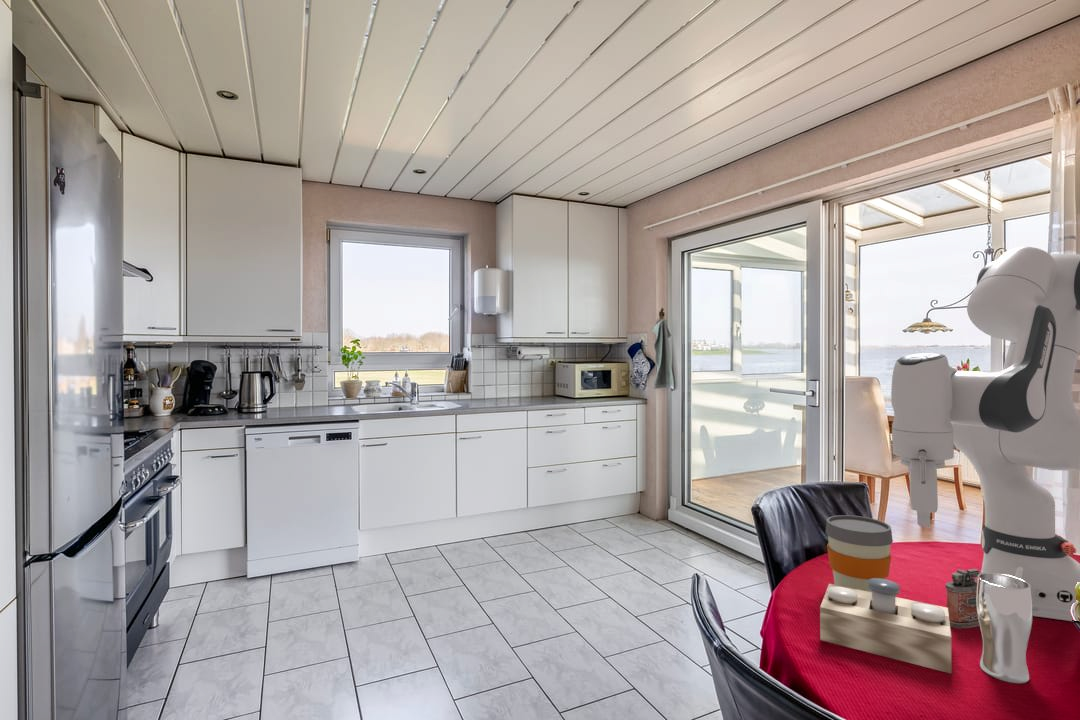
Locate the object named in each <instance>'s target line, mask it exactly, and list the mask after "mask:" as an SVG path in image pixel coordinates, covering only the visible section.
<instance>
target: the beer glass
mask: <svg viewBox="0 0 1080 720" xmlns="http://www.w3.org/2000/svg"><path fill="white" fill-rule="evenodd" d="M977 580H978V581H977V591H976V608H977V615H978V620H979V629H980V632H981V634H980V635H981V639H982V651H981V652H982V653H981V656H980V661H979V667H980V669H981V670H982V671H983V672H984V673H985V674H987V675H989V676H990V677H993V678H995V679H996V680H997V679H998V680H999V681H1003V682H1006V683H1011V684H1026V683H1027V682H1029V680H1030V674H1029V669H1028V665H1027V664H1028V663H1027V659H1026V658H1027V656H1026V655H1027V648H1028V643H1029V640H1030V635H1031V631H1032V625H1033V617H1034V616H1033V608H1032V596H1031V585H1030V584H1029V583H1028V582H1026V581H1024V580H1022V579H1020V578H1017V577H1014V576H1010V575H1006V574H1001V573H992V572H985V573H981V572H980V574H978V577H977Z"/></svg>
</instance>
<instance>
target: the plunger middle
mask: <svg viewBox="0 0 1080 720" xmlns="http://www.w3.org/2000/svg"><path fill="white" fill-rule="evenodd" d="M868 588H869V589H870V590H872V610H876V611H880V612H885V613H889V614H894V615H896V600H895V597H896V595H898V594H900V585H899V584H898V583H897V582H895V581H893V580H889V579H887V578H886V579H881V578H872V579H869V580H868Z"/></svg>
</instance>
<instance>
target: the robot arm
mask: <svg viewBox="0 0 1080 720" xmlns="http://www.w3.org/2000/svg"><path fill="white" fill-rule="evenodd" d="M966 311H967V315H968V318H969V319H970V321H971V323H972V324H973V325H974V326H975V328H977V329H978V330H980V331H981V332H983V333H984V334H986V335H988V336H990V337H992V338H995V339H999V340H1005V341H1009V342H1010V343H1009V346H1008V349H1007V353H1006V356H1005V360H1004V363H1003V367H1002V369H998V370H992V371H988V370H987V371H985V370H960V369H957V368H954V367H952V366H950V364H949V360H948V357H947V356H946V355H945V354H943V353H939V352H919V353H912V354H906V355H903V356H901V357H900V358H898V359H897V360H895V363H894V366H893V371H892V377H891V392H890V393H891V396H890V397H891V407H892V409H893V410H892V411H893V414H894V415H893V422H892V425H891V440H892V441H891V442H892V444H891V445H892V448H891V449H892V452H891V453H892V455H895V456H897V457H899V458H900V463H901V464H902V465H903V466H905V467H907V468H908V475H909V497H910V498H909V503H910V509H911V510H912V511H916V515H917V517H916V518H917V521H916V522H917V525H918V526H919V527H926V528H928V527H930V526H931V514H932V513H937V512H938V508H939V507H938V505H939V503H938V502H939V498H938V493H939V492H938V472H937V469H942V468H945V466H946V462H945V461H947V460H951V459H954V455H955V454H954V452H955V450H954V449H955V448H956V449H957V450H959V451H960V452H961V453H962V454H963V455H964V456H966V458H967V459H968V460H969V462H970V463H971V465H972V466H973V469H974V470H975V471H976V474H977V475H978V479H979V480H980V483H981V487H982V491H983V501H984V521H985V522H984V524H983V525H982V530H981V547H982V551H983V559H982V566H981V569H980V573H985V572H992V573H1001V574H1006V575H1010V576H1014V577H1017V578H1020V579H1022V580H1024V581H1026V582H1028V583H1029V584H1030V585H1031V596H1032V608H1033V617H1038V618H1039V617H1040V618H1044V619H1045V618H1047V619H1054V620H1061V621H1068V622H1073V621H1072V617H1071V613H1070V609H1071V606H1072V604H1073V603H1075V602H1076V593H1075V586H1076V584H1077V582H1080V562H1078V561H1077V560H1076V559H1075V558H1073V557H1071V556H1073V555H1075V554H1076V553H1077V548H1076V547H1075V546H1074V544H1073V543H1072V542H1069V540H1067V539H1066V538H1063V536H1061V534H1060V535H1058V534H1056V502H1055V499H1054V496H1053V495H1052V494H1051V492H1050V491H1049V490H1048V489H1046V488H1045V487H1044V486H1042V485H1041V484H1039V483H1038V482H1037V481H1036V480H1035V479H1034V478H1033V477H1032V476H1031V474H1030V473H1029V472H1030V471H1029V470H1028V468H1027V467H1030V468H1031V467H1032V468H1037V469H1043V470H1049V471H1064V472H1065V471H1070V472H1071V471H1080V413H1079V412H1078V410H1077V408H1076V406H1075V404H1074V401H1073V396H1072V391H1073V389H1072V387H1073V382H1074V375H1075V370H1076V367H1077V362H1078V359H1079V355H1080V253H1049V252H1047V251H1045V250H1043V249H1042V248H1037V247H1033V246H1032V247H1031V246H1021V247H1020V246H1019V247H1015V248H1012V249H1009V250H1007V251H1005V252H1003V253H1002V254H1001V255H1000V256H999V257H998V258H997V259H996V260H993V261H990V262H988V263H987V264H986V265H985V266H983V267H982V268H981V270H980V271H979V273H978V275H977V279H976V286H975V287H974V289H973V291H972V292H971V294H970V297H969V299H968V301H967V306H966Z"/></svg>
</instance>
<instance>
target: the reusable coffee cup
mask: <svg viewBox="0 0 1080 720" xmlns="http://www.w3.org/2000/svg"><path fill="white" fill-rule="evenodd" d="M825 534H826V535H827V541H828V543H827V545H826V549H827V553H828V554H827V556H828V562H829V566H830V569H832V575H833V582H834V585H838V586H843V587H848V588H853V589H858V590H863V591H868V592H872V590H870V589H869V588H868V580H869V579H872V578H881V579H886V580H887V578H888V577H889V575H890V569H891V560H892V553H891V544H892V543H894V540H893V532H892V527H891V525H890V524H888V523H887V522H885V521H882V520H879V519H874V518H871V517H868V516H860V515H850V514H849V515H848V514H845V515H844V514H841V515H833V516H829V517H828V518H826V525H825Z"/></svg>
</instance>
